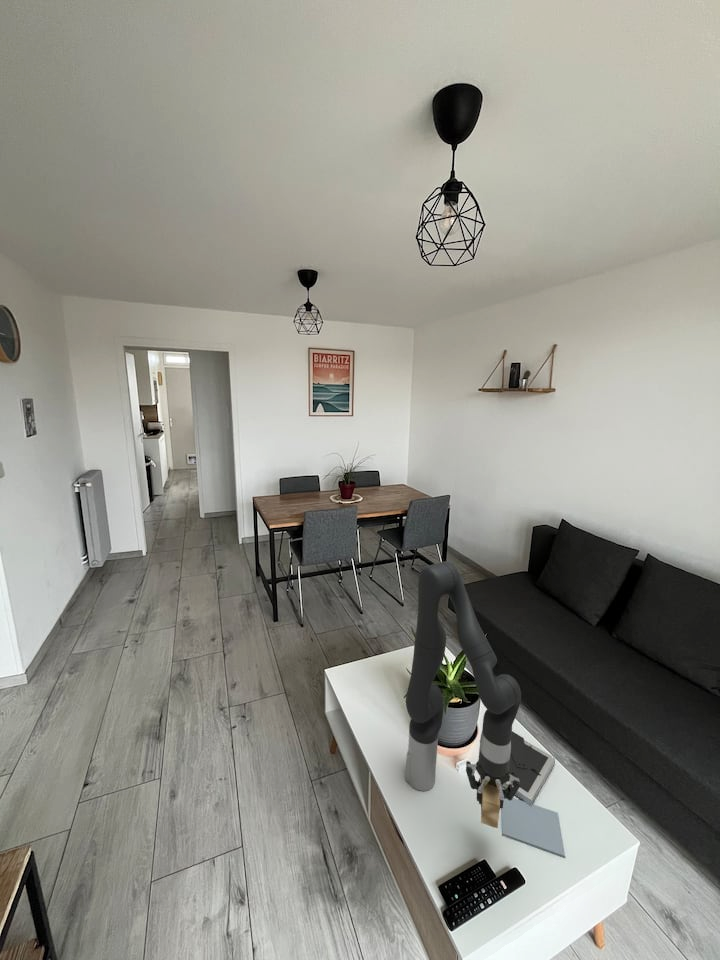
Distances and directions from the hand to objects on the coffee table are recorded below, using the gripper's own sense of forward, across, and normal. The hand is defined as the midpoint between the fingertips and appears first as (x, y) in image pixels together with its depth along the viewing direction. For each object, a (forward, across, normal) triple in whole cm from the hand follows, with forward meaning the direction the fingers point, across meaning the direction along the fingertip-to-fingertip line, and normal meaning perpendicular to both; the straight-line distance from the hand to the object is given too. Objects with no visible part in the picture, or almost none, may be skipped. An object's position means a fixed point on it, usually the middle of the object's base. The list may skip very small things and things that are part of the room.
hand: (489, 804), depth 100 cm
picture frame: (+15, +12, +29) cm, 35 cm away
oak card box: (+1, 0, 0) cm, 1 cm away
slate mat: (+15, +13, +11) cm, 23 cm away
